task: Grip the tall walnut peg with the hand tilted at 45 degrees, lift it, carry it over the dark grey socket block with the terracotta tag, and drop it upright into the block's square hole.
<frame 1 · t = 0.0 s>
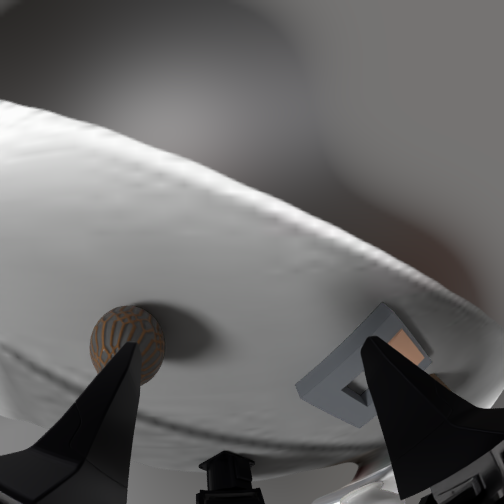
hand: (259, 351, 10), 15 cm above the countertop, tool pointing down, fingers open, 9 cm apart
vase: (136, 325, 26), on the countertop
socket block: (367, 369, 31), on the countertop
decorative vase: (361, 492, 47), on the countertop
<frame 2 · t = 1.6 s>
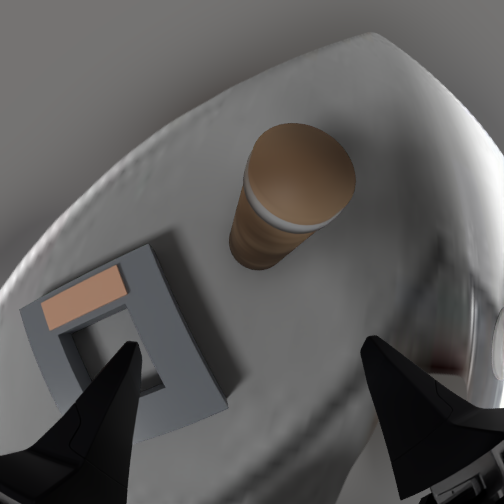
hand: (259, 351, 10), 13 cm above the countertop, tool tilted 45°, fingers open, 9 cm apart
walnut peg: (257, 241, 24), on the countertop
socket block: (116, 357, 20), on the countertop
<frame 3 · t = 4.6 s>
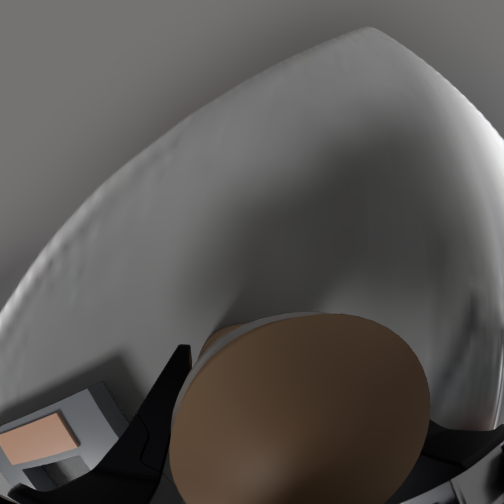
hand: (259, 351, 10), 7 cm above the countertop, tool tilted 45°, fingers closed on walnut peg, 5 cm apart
walnut peg: (239, 363, 16), on the countertop, touching gripper
socket block: (90, 488, 11), on the countertop
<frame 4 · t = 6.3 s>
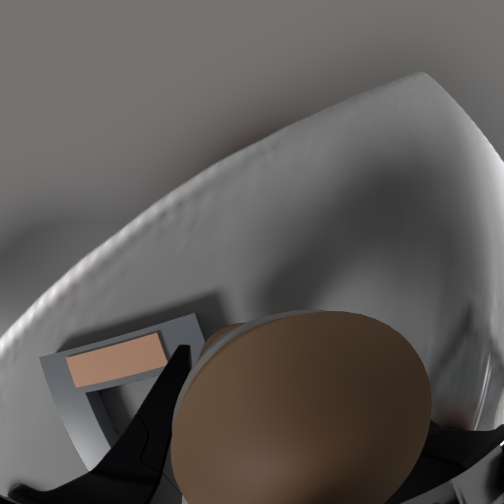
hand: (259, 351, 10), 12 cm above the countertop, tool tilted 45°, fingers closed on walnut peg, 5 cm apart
walnut peg: (240, 363, 16), point 5 cm above the countertop, touching gripper
socket block: (147, 416, 18), on the countertop
when the fingers open (8 cm above the countertop, at t = 8.2 s): walnut peg drops 2 cm, resting in socket block.
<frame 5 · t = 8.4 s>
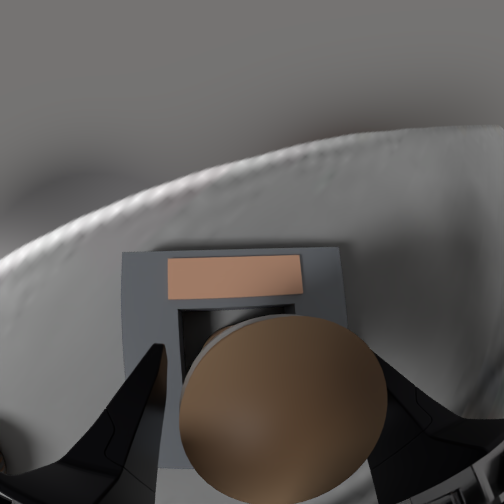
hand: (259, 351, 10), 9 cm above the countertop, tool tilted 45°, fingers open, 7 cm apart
walnut peg: (237, 361, 18), resting in socket block
socket block: (237, 360, 18), on the countertop
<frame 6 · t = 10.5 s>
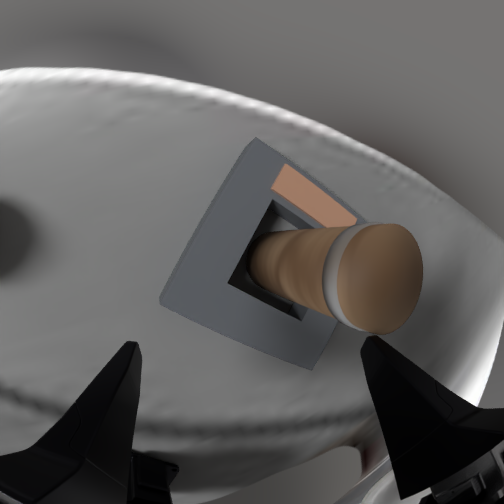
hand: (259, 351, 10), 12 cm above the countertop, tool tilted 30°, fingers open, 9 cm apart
walnut peg: (274, 261, 23), resting in socket block
socket block: (274, 260, 23), on the countertop
decorative vase: (385, 485, 34), on the countertop
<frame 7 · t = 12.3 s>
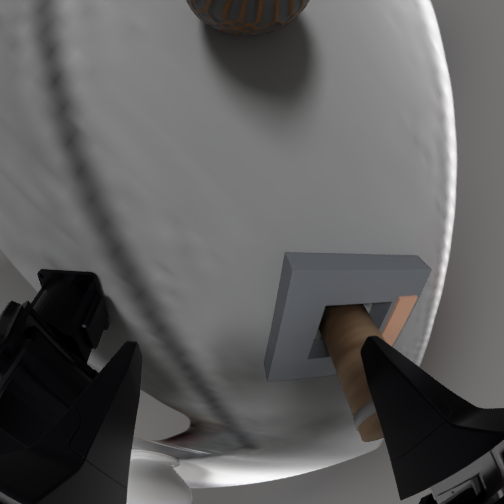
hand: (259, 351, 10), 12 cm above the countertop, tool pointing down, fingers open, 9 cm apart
vase: (242, 3, 12), on the countertop
walnut peg: (340, 314, 26), resting in socket block
socket block: (340, 314, 26), on the countertop
decorative vase: (151, 457, 45), on the countertop
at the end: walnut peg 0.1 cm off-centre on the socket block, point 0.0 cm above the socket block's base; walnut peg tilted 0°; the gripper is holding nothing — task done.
